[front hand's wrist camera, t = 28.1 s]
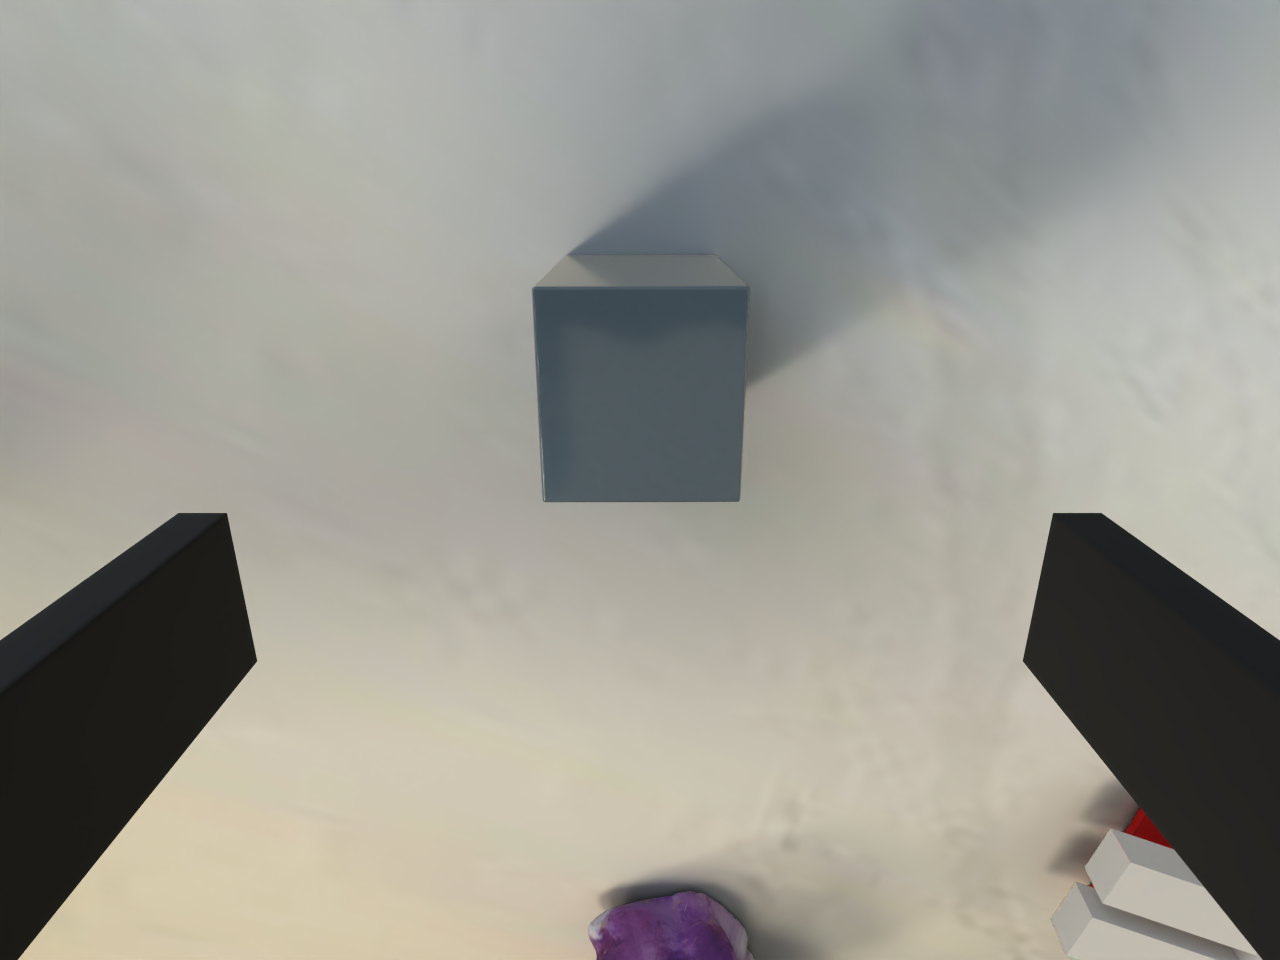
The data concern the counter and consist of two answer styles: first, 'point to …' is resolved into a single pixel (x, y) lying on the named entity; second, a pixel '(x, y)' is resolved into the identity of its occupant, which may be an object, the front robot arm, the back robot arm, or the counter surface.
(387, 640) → the counter surface
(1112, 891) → the toy
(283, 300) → the counter surface
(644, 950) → the figurine
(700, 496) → the brick
